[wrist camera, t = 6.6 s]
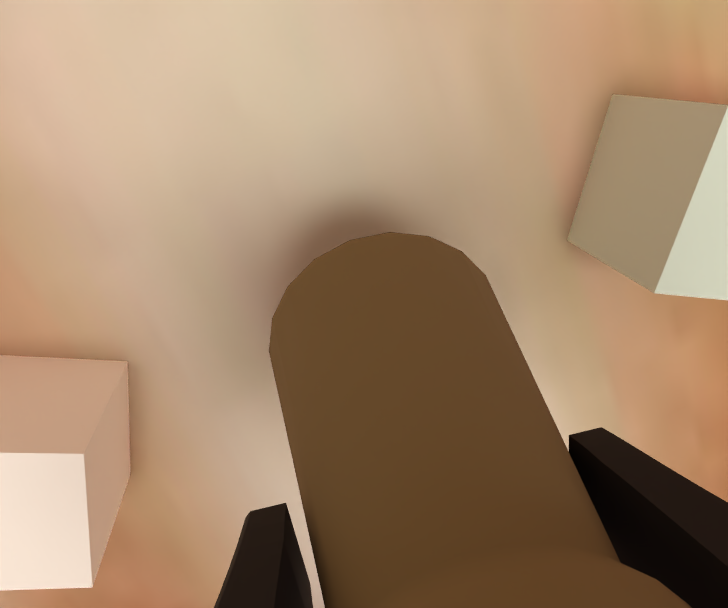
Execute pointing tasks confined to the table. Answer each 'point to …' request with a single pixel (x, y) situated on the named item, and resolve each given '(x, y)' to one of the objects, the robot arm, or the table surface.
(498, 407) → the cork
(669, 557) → the robot arm
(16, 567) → the off-white block
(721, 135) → the sage-green block
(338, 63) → the table surface
